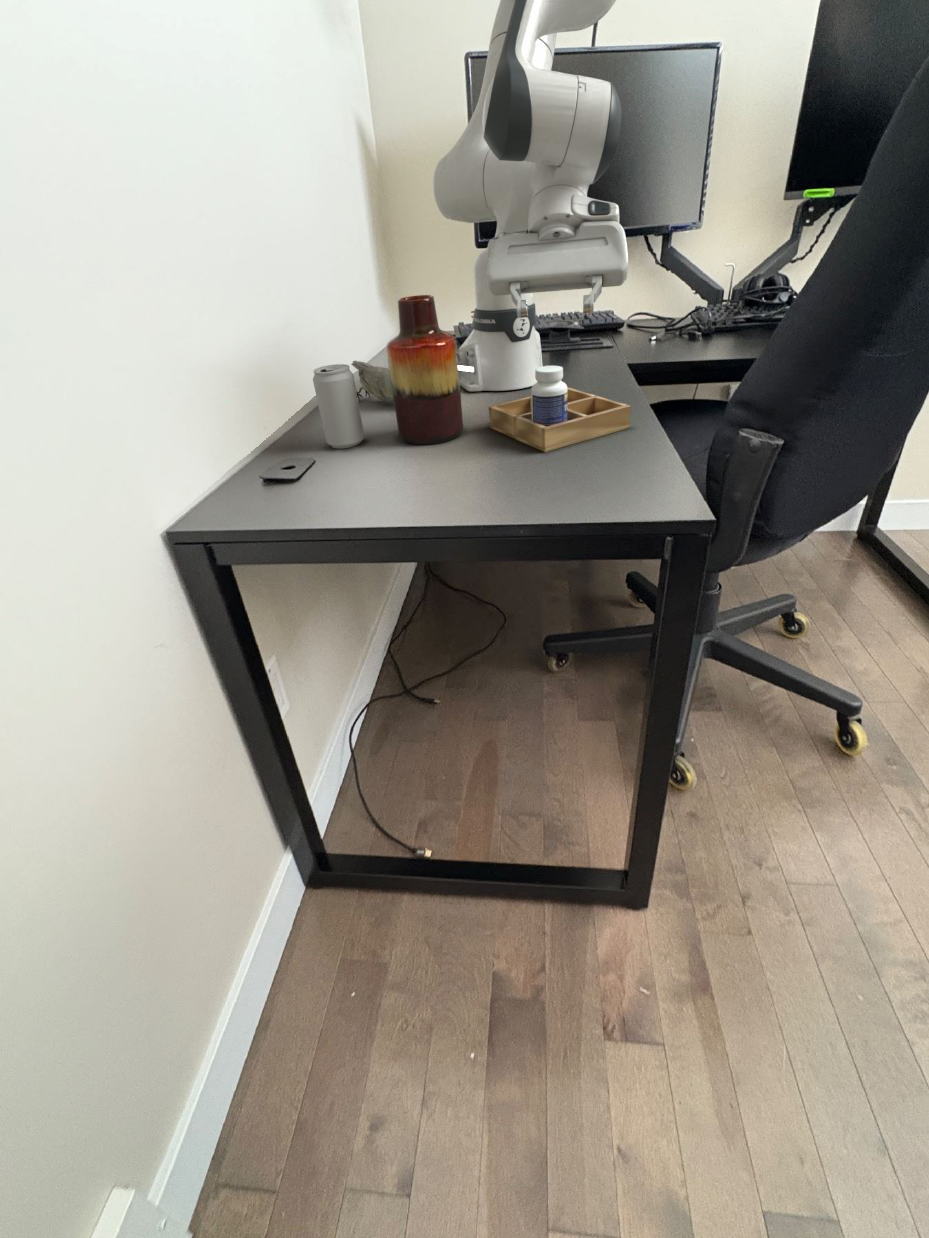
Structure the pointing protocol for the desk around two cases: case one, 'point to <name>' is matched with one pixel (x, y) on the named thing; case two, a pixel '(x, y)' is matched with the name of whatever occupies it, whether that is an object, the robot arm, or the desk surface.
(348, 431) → the beverage can
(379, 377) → the decorative bird
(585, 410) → the wooden compartment tray
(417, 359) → the vase
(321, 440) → the desk surface
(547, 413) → the pill bottle
